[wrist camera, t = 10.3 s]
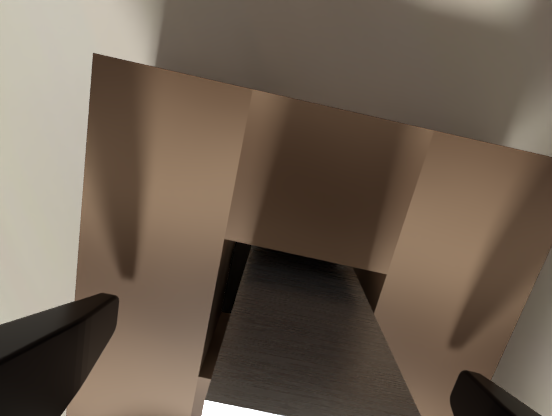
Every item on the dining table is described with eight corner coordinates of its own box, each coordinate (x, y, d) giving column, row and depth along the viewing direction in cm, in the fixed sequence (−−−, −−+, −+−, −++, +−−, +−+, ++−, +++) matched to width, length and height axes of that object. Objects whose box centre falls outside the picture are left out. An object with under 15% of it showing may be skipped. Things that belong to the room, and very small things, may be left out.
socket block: (392, 428, 14) (425, 524, 11) (118, 370, 14) (63, 449, 11) (497, 153, 11) (588, 165, 8) (153, 75, 11) (92, 52, 8)
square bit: (321, 317, 13) (371, 600, 5) (242, 301, 13) (174, 563, 5) (341, 243, 12) (434, 445, 4) (257, 226, 12) (204, 400, 4)
